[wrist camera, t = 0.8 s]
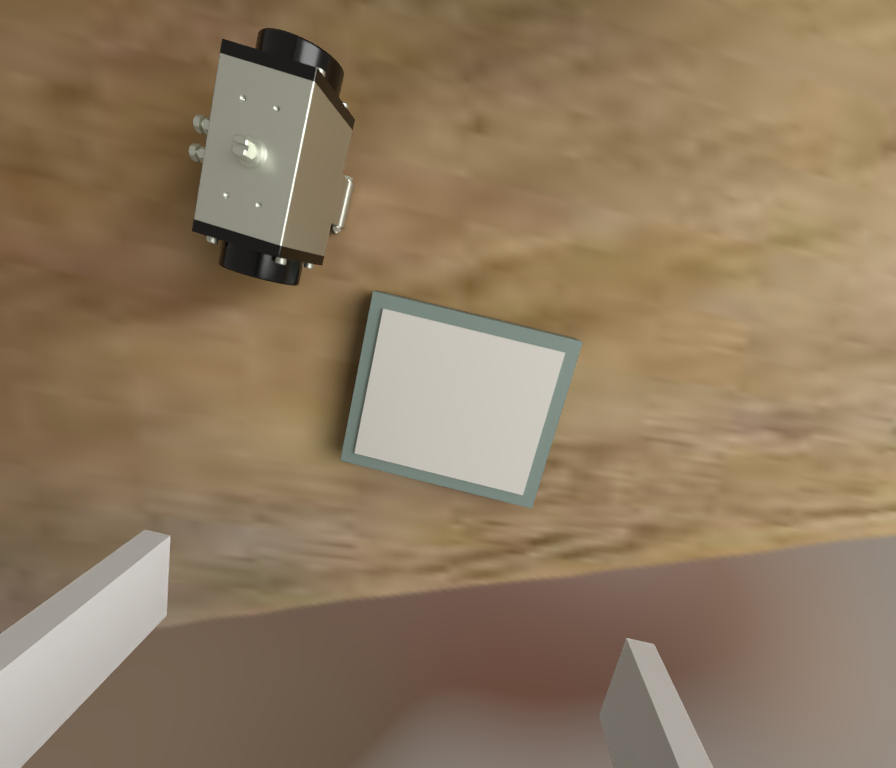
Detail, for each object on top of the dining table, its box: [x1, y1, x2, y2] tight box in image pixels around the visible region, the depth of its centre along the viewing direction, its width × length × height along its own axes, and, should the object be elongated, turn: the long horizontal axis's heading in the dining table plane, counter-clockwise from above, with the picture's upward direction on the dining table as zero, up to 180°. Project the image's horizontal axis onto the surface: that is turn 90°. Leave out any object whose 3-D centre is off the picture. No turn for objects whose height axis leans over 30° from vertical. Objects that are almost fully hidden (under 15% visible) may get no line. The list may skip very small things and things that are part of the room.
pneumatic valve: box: [189, 28, 355, 286], centre depth 26 cm, size 6×12×12 cm, turn 163°
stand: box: [340, 291, 583, 508], centre depth 32 cm, size 13×15×3 cm
